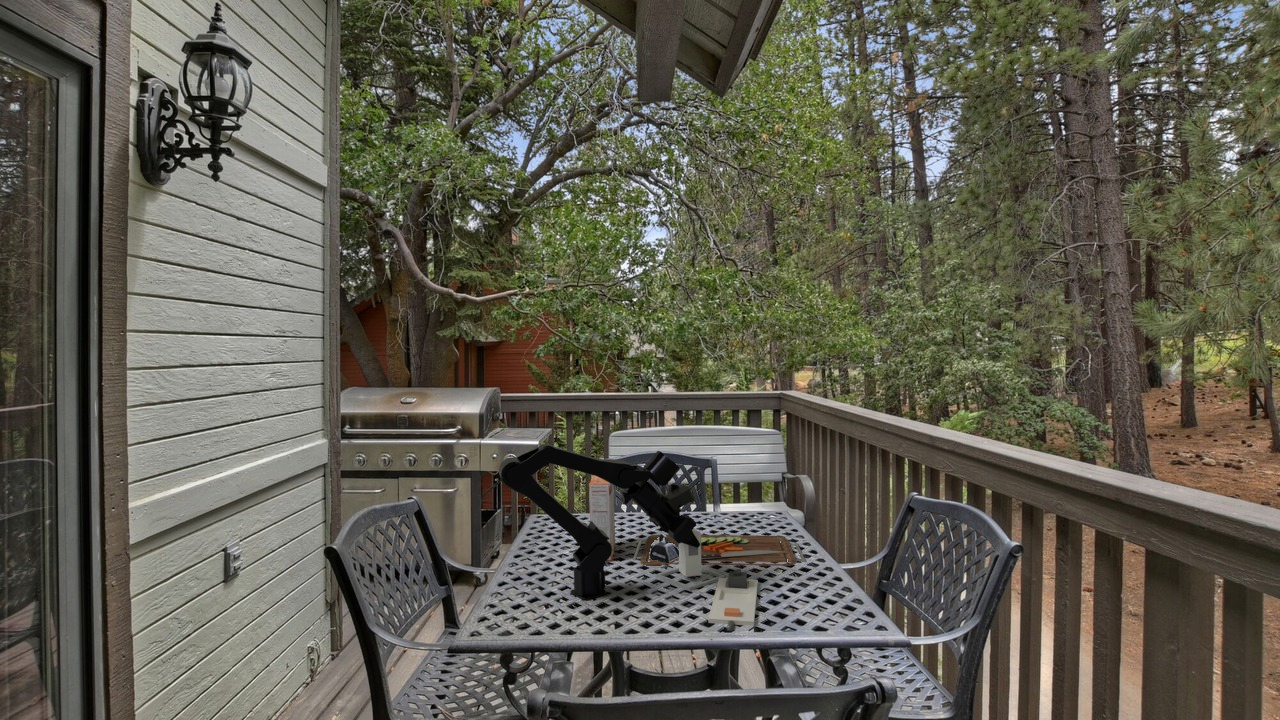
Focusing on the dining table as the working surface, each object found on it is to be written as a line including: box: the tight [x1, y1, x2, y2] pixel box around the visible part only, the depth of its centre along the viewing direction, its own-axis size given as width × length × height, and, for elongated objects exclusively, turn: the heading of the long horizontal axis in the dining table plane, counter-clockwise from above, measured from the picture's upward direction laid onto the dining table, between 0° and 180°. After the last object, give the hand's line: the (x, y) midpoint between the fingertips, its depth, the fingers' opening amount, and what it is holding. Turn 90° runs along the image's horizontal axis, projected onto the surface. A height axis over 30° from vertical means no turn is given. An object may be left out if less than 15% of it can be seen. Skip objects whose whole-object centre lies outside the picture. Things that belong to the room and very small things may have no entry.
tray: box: [654, 566, 727, 591], centre depth 162 cm, size 12×12×1 cm
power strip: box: [708, 577, 759, 632], centre depth 145 cm, size 27×9×2 cm, turn 168°
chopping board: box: [632, 534, 807, 567], centre depth 184 cm, size 45×27×3 cm, turn 84°
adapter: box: [678, 527, 702, 578], centre depth 162 cm, size 4×5×10 cm
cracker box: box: [588, 475, 616, 562], centre depth 184 cm, size 14×6×21 cm, turn 178°
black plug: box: [727, 568, 748, 589], centre depth 155 cm, size 4×4×4 cm
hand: (695, 543), depth 162 cm, fingers closed on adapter, 5 cm apart
